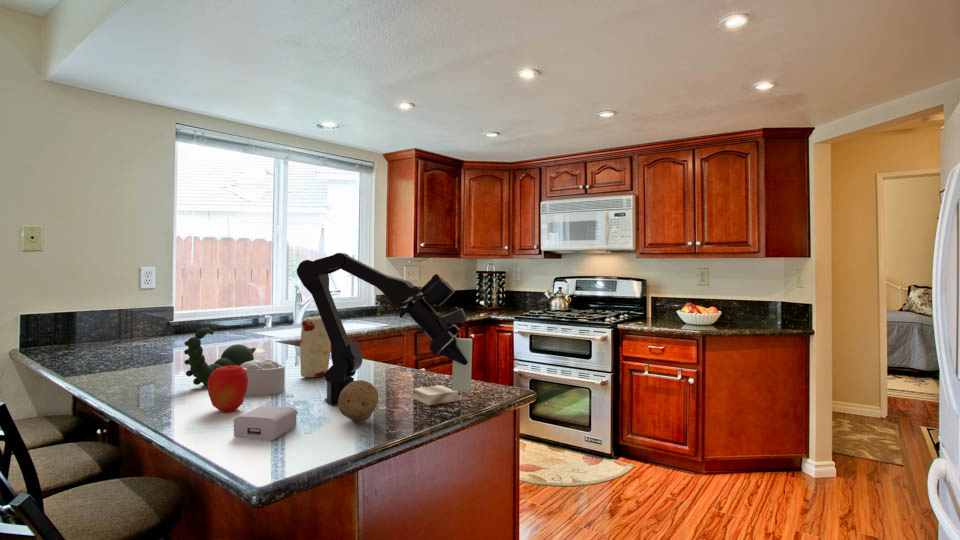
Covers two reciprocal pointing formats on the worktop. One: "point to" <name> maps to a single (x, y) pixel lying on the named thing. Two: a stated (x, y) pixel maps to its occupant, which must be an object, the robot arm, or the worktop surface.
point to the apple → (227, 387)
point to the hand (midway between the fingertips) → (467, 362)
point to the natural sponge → (358, 401)
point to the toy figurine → (230, 355)
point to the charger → (265, 423)
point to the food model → (314, 348)
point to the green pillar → (462, 367)
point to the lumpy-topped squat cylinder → (264, 377)
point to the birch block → (435, 395)
